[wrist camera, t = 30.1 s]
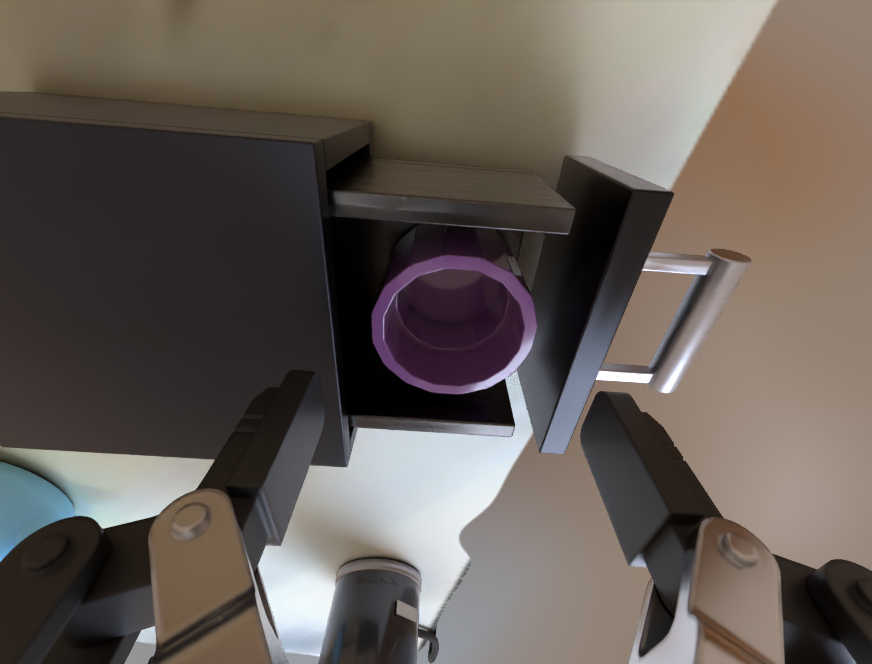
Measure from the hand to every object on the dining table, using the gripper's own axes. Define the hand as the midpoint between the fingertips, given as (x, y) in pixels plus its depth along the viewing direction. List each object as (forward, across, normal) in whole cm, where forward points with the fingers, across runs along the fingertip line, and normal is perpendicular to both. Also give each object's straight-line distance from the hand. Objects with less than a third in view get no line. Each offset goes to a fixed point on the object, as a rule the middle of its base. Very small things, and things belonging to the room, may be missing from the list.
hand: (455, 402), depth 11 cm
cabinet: (+11, +11, 0) cm, 15 cm away
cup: (+9, 0, 0) cm, 9 cm away
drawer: (+10, -2, 0) cm, 10 cm away
